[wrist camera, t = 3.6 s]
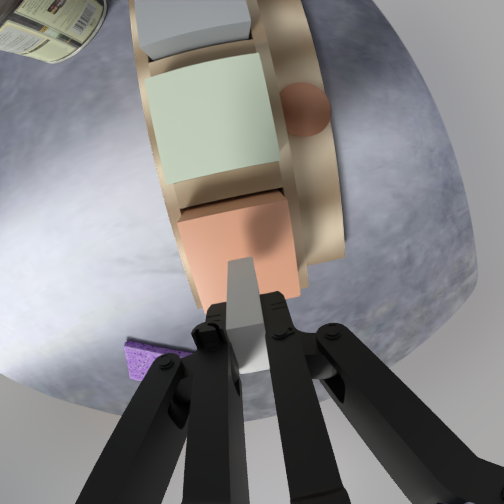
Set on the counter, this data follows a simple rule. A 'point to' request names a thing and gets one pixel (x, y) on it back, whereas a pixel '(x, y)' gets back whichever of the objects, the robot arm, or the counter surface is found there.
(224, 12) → the grey key
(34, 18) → the coffee can
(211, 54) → the key panel
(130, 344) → the sponges
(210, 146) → the sage key
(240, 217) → the terracotta key
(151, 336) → the counter surface
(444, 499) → the robot arm
